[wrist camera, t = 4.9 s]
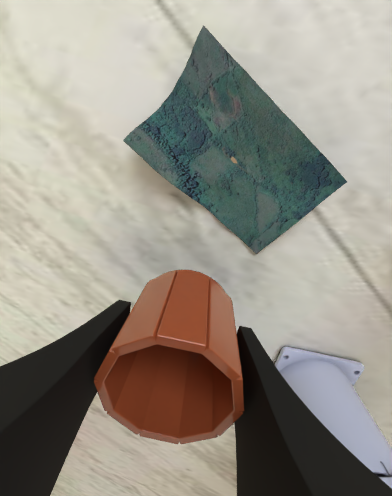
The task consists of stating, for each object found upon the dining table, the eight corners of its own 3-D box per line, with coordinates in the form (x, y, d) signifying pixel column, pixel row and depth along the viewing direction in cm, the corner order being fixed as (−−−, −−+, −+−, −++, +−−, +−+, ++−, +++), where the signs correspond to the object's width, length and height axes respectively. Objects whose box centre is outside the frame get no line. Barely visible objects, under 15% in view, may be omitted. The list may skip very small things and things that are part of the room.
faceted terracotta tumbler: (221, 353, 14) (225, 455, 9) (134, 334, 14) (91, 426, 9) (245, 279, 12) (267, 358, 7) (144, 257, 12) (95, 321, 7)
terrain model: (336, 180, 15) (350, 183, 14) (254, 252, 18) (258, 262, 17) (201, 35, 13) (198, 16, 12) (131, 142, 16) (120, 140, 14)
